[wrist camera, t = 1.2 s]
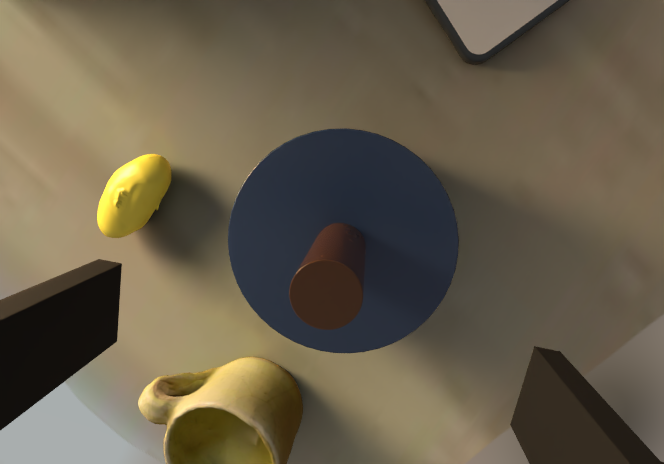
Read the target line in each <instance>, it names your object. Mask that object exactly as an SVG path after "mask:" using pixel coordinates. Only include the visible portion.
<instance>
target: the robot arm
mask: <svg viewBox="0 0 664 464" xmlns="http://www.w3.org/2000/svg"><path fill="white" fill-rule="evenodd" d="M121 266H122V264H121V263H116V262H111V261H106V260H101V259H98V260H96V261H93V262H91V263H89V264H86V265H84V266H81V267H79V268H76V269H74V270H72V271H69V272H67V273H64V274H62V275H60V276H57V277H55V278H52V279H50V280H48V281H45V282H43V283H40V284H38V285H35V286H33V287H31V288H28V289H26V290H23V291H21V292H19V293H16V294H14V295H11V296H9V297H6V298H4V299H2V300H0V430H2V429H3V428H4V427H5V426H7V425H8V424H9V423H11V422H12V421H13V420H14V419H16V418H17V417H18V416H20V415H21V414H22V413H23V412H25V411H26V410H28V409H29V408H30V407H32V406H33V405H34V404H35V403H37V402H38V401H39V400H41V399H42V398H43V397H45V396H46V395H47V394H49V393H50V392H51V391H53V390H54V389H55V388H56V387H58V386H59V385H60V384H62V383H63V382H64V381H66V380H67V379H68V378H70V377H71V376H72V375H73V374H75V373H76V372H77V371H79V370H80V369H81V368H83V367H84V366H85V365H87V364H88V363H89V362H90V361H92V360H93V359H94V358H96V357H97V356H98V355H100V354H101V353H102V352H104V351H105V350H106V349H107V348H109V347H110V346H111V345H113V344H114V343H115V342H117V332H118V316H119V299H120V282H121ZM510 425H511V427H512V429H513V431H514V433H515V435H516V437H517V439H518V441H519V443H520V445H521V447H522V449H523V451H524V453H525V455H526V457H527V459H528V461H529V463H530V464H664V462H661V461H660V460H659V459H658V458H657V457H656V456H655V455H654V454H653V453H652V452H651V451H650V449H649V448H648V447H647V446H646V445H645V444H644V443H643V442H642V441H641V440H640V438H639V437H638V436H637V435H636V434H635V433H634V432H633V431H632V430H631V429H630V428H629V426H628V425H627V424H626V423H625V422H624V421H623V420H622V419H621V418H620V417H619V415H618V414H617V413H616V412H615V411H614V410H613V409H612V408H611V407H610V406H609V405H608V404H607V403H606V401H605V400H604V399H603V398H602V397H601V396H600V395H599V394H598V393H597V391H596V390H595V389H594V388H593V387H592V386H591V385H590V384H589V383H588V382H587V381H586V379H585V378H584V377H583V376H582V375H581V374H580V373H579V372H578V371H577V370H576V368H575V367H574V366H573V365H572V364H571V363H570V362H569V361H568V360H567V359H566V357H565V356H564V355H563V354H562V353H561V352H560V351H555V350H550V349H545V348H540V347H535V346H534V350H533V353H532V356H531V359H530V363H529V366H528V369H527V372H526V376H525V379H524V382H523V385H522V389H521V392H520V395H519V398H518V401H517V405H516V408H515V411H514V414H513V418H512V421H511V424H510Z"/></svg>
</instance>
